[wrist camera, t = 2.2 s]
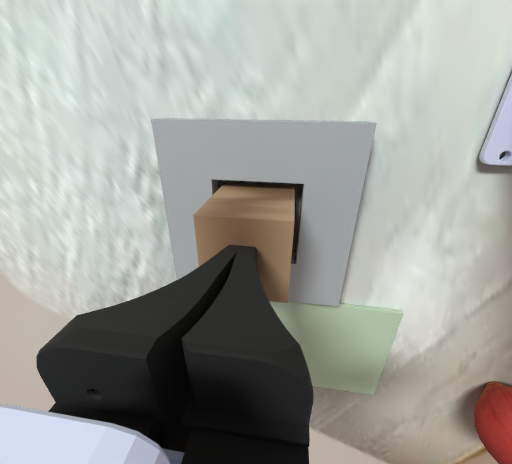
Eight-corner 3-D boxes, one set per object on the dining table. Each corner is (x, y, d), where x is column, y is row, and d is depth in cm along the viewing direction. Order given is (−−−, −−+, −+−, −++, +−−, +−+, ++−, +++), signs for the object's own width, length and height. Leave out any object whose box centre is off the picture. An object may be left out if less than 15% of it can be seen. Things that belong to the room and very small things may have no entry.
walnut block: (294, 184, 16) (294, 221, 11) (289, 245, 18) (287, 302, 12) (226, 181, 16) (193, 215, 11) (229, 241, 18) (201, 294, 13)
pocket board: (368, 121, 14) (376, 123, 12) (335, 293, 19) (338, 306, 18) (163, 118, 15) (151, 118, 14) (186, 278, 20) (178, 289, 19)
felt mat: (401, 309, 19) (403, 313, 18) (372, 390, 23) (373, 395, 23) (270, 296, 20) (269, 299, 20) (266, 375, 24) (265, 379, 24)
